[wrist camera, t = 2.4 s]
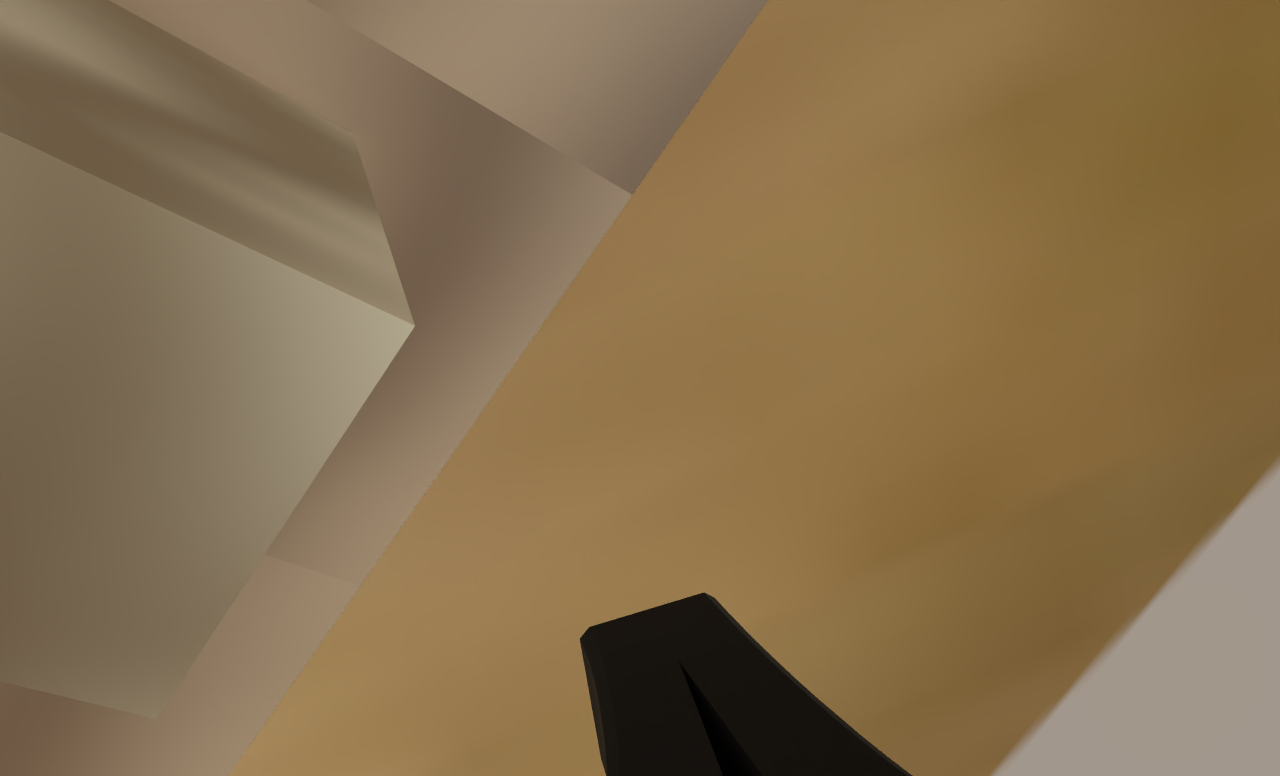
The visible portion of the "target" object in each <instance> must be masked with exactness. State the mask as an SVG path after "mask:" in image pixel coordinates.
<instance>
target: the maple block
mask: <svg viewBox="0 0 1280 776" xmlns="http://www.w3.org/2000/svg"><path fill="white" fill-rule="evenodd" d="M414 327H415V324H414V321H413V318H412V315H411V312H410V309H409V306H408V303H407V300H406V296H405V293H404V290H403V287H402V284H401V281H400V278H399V275H398V272H397V269H396V266H395V263H394V259H393V256H392V253H391V250H390V247H389V244H388V241H387V238H386V235H385V232H384V229H383V226H382V222H381V219H380V216H379V213H378V210H377V207H376V204H375V201H374V198H373V195H372V192H371V189H370V185H369V182H368V179H367V176H366V173H365V170H364V167H363V164H362V161H361V158H360V155H359V152H358V148H357V145H356V142H355V139H354V136H353V133H351V132H349V131H347V130H345V129H344V128H342V127H340V126H338V125H336V124H334V123H333V122H331V121H329V120H327V119H325V118H323V117H322V116H320V115H318V114H316V113H314V112H312V111H311V110H309V109H307V108H305V107H303V106H301V105H300V104H298V103H296V102H294V101H292V100H290V99H289V98H287V97H285V96H283V95H281V94H280V93H278V92H276V91H274V90H272V89H270V88H269V87H267V86H265V85H263V84H261V83H259V82H258V81H256V80H254V79H252V78H250V77H248V76H247V75H245V74H243V73H241V72H239V71H237V70H236V69H234V68H232V67H230V66H228V65H226V64H225V63H223V62H221V61H219V60H217V59H215V58H214V57H212V56H210V55H208V54H206V53H204V52H203V51H201V50H199V49H197V48H195V47H194V46H192V45H190V44H188V43H186V42H184V41H183V40H181V39H179V38H177V37H175V36H173V35H172V34H170V33H168V32H166V31H164V30H162V29H161V28H159V27H157V26H155V25H153V24H151V23H150V22H148V21H146V20H144V19H142V18H140V17H139V16H137V15H135V14H133V13H131V12H129V11H128V10H126V9H124V8H122V7H120V6H118V5H117V4H115V3H113V2H111V1H109V0H0V681H1V682H5V683H9V684H13V685H18V686H22V687H26V688H30V689H34V690H38V691H42V692H46V693H51V694H55V695H59V696H63V697H67V698H71V699H75V700H79V701H84V702H88V703H92V704H96V705H100V706H104V707H108V708H112V709H117V710H121V711H125V712H129V713H133V714H137V715H141V716H145V717H150V718H154V719H156V718H157V717H158V715H159V714H160V712H161V711H162V709H163V708H164V706H165V705H166V703H167V702H168V700H169V699H170V697H171V695H172V694H173V692H174V691H175V689H176V688H177V686H178V685H179V683H180V682H181V680H182V679H183V677H184V676H185V674H186V673H187V671H188V670H189V668H190V667H191V665H192V664H193V662H194V661H195V659H196V658H197V656H198V655H199V653H200V651H201V650H202V648H203V647H204V645H205V644H206V642H207V641H208V639H209V638H210V636H211V635H212V633H213V632H214V630H215V629H216V627H217V626H218V624H219V623H220V621H221V620H222V618H223V617H224V615H225V614H226V612H227V611H228V609H229V607H230V606H231V604H232V603H233V601H234V600H235V598H236V597H237V595H238V594H239V592H240V591H241V589H242V588H243V586H244V585H245V583H246V582H247V580H248V579H249V577H250V576H251V574H252V573H253V571H254V570H255V568H256V566H257V565H258V563H259V562H260V560H261V559H262V557H263V556H264V554H265V553H266V551H267V550H268V548H269V547H270V545H271V544H272V542H273V541H274V539H275V538H276V536H277V535H278V533H279V532H280V530H281V529H282V527H283V526H284V524H285V522H286V521H287V519H288V518H289V516H290V515H291V513H292V512H293V510H294V509H295V507H296V506H297V504H298V503H299V501H300V500H301V498H302V497H303V495H304V494H305V492H306V491H307V489H308V488H309V486H310V485H311V483H312V482H313V480H314V478H315V477H316V475H317V474H318V472H319V471H320V469H321V468H322V466H323V465H324V463H325V462H326V460H327V459H328V457H329V456H330V454H331V453H332V451H333V450H334V448H335V447H336V445H337V444H338V442H339V441H340V439H341V437H342V436H343V434H344V433H345V431H346V430H347V428H348V427H349V425H350V424H351V422H352V421H353V419H354V418H355V416H356V415H357V413H358V412H359V410H360V409H361V407H362V406H363V404H364V403H365V401H366V400H367V398H368V397H369V395H370V393H371V392H372V390H373V389H374V387H375V386H376V384H377V383H378V381H379V380H380V378H381V377H382V375H383V374H384V372H385V371H386V369H387V368H388V366H389V365H390V363H391V362H392V360H393V359H394V357H395V356H396V354H397V352H398V351H399V349H400V348H401V346H402V345H403V343H404V342H405V340H406V339H407V337H408V336H409V334H410V333H411V331H412V330H413V328H414Z"/></svg>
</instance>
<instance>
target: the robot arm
mask: <svg viewBox="0 0 1280 776" xmlns="http://www.w3.org/2000/svg"><path fill="white" fill-rule="evenodd" d="M580 643H581V648H582V654H583V660H584V665H585V671H586V676H587V682H588V688H589V693H590V699H591V704H592V710H593V716H594V721H595V727H596V732H597V738H598V744H599V749H600V755H601V760H602V763H603V766H604V769H605V773H606V776H912V775H911V774H909V773H908V772H907V771H905V770H904V769H903V768H901V767H900V766H899V765H898V764H896V763H895V762H894V761H892V760H891V759H890V758H888V757H887V756H886V755H885V754H883V753H882V752H881V751H880V750H878V749H877V748H876V747H875V746H873V745H872V744H871V743H870V742H868V741H867V740H866V739H865V738H863V737H862V736H861V735H860V734H859V733H858V732H856V731H855V730H854V729H853V728H852V727H851V726H849V725H848V724H847V723H846V722H845V721H843V720H842V719H841V718H840V717H839V716H838V715H836V714H835V713H834V712H833V711H832V710H831V709H829V708H828V707H827V706H826V705H825V704H823V703H822V702H821V701H820V700H819V699H818V698H816V697H815V696H814V695H813V694H812V693H811V692H810V691H809V690H808V689H806V688H805V687H804V686H803V685H802V684H801V683H800V682H799V681H798V680H796V679H795V678H794V677H793V676H792V675H791V674H790V673H789V672H788V671H787V670H786V669H785V668H784V667H783V666H781V665H780V664H779V663H778V662H777V661H776V660H775V659H774V658H773V657H772V656H771V655H770V654H769V653H768V652H767V651H766V650H765V649H764V648H763V647H762V646H761V645H760V644H759V643H758V642H756V641H755V640H754V639H753V638H752V637H751V636H750V635H749V634H748V633H747V632H746V631H745V629H744V628H743V627H742V626H741V625H740V624H739V623H738V622H737V621H736V620H735V619H734V618H733V617H732V616H731V615H730V614H729V613H728V612H727V611H726V610H725V609H724V608H723V606H722V605H721V604H720V603H719V602H718V601H717V600H716V599H715V598H714V597H712V596H710V595H708V594H706V593H701V594H697V595H694V596H691V597H688V598H684V599H681V600H678V601H674V602H671V603H668V604H664V605H661V606H658V607H654V608H651V609H648V610H644V611H641V612H638V613H635V614H631V615H628V616H625V617H621V618H618V619H615V620H611V621H608V622H605V623H601V624H598V625H595V626H591V627H589V628H588V629H587V631H586V632H585V633H584V634H583V635H582V637H581V638H580Z"/></svg>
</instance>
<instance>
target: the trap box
mask: <svg viewBox="0 0 1280 776" xmlns="http://www.w3.org/2000/svg"><path fill="white" fill-rule="evenodd" d="M109 1H111V2H113V3H115V4H117V5H118V6H120V7H122V8H124V9H126V10H128V11H129V12H131V13H133V14H135V15H137V16H139V17H140V18H142V19H144V20H146V21H148V22H150V23H151V24H153V25H155V26H157V27H159V28H161V29H162V30H164V31H166V32H168V33H170V34H172V35H173V36H175V37H177V38H179V39H181V40H183V41H184V42H186V43H188V44H190V45H192V46H194V47H195V48H197V49H199V50H201V51H203V52H204V53H206V54H208V55H210V56H212V57H214V58H215V59H217V60H219V61H221V62H223V63H225V64H226V65H228V66H230V67H232V68H234V69H236V70H237V71H239V72H241V73H243V74H245V75H247V76H248V77H250V78H252V79H254V80H256V81H258V82H259V83H261V84H263V85H265V86H267V87H269V88H270V89H272V90H274V91H276V92H278V93H280V94H281V95H283V96H285V97H287V98H289V99H290V100H292V101H294V102H296V103H298V104H300V105H301V106H303V107H305V108H307V109H309V110H311V111H312V112H314V113H316V114H318V115H320V116H322V117H323V118H325V119H327V120H329V121H331V122H333V123H334V124H336V125H338V126H340V127H342V128H344V129H345V130H347V131H349V132H351V133H353V136H354V139H355V142H356V145H357V148H358V152H359V155H360V158H361V161H362V164H363V167H364V170H365V173H366V176H367V179H368V182H369V185H370V189H371V192H372V195H373V198H374V201H375V204H376V207H377V210H378V213H379V216H380V219H381V222H382V226H383V229H384V232H385V235H386V238H387V241H388V244H389V247H390V250H391V253H392V256H393V259H394V263H395V266H396V269H397V272H398V275H399V278H400V281H401V284H402V287H403V290H404V293H405V296H406V300H407V303H408V306H409V309H410V312H411V315H412V318H413V321H414V324H415V327H414V328H413V330H412V331H411V333H410V334H409V336H408V337H407V339H406V340H405V342H404V343H403V345H402V346H401V348H400V349H399V351H398V352H397V354H396V356H395V357H394V359H393V360H392V362H391V363H390V365H389V366H388V368H387V369H386V371H385V372H384V374H383V375H382V377H381V378H380V380H379V381H378V383H377V384H376V386H375V387H374V389H373V390H372V392H371V393H370V395H369V397H368V398H367V400H366V401H365V403H364V404H363V406H362V407H361V409H360V410H359V412H358V413H357V415H356V416H355V418H354V419H353V421H352V422H351V424H350V425H349V427H348V428H347V430H346V431H345V433H344V434H343V436H342V437H341V439H340V441H339V442H338V444H337V445H336V447H335V448H334V450H333V451H332V453H331V454H330V456H329V457H328V459H327V460H326V462H325V463H324V465H323V466H322V468H321V469H320V471H319V472H318V474H317V475H316V477H315V478H314V480H313V482H312V483H311V485H310V486H309V488H308V489H307V491H306V492H305V494H304V495H303V497H302V498H301V500H300V501H299V503H298V504H297V506H296V507H295V509H294V510H293V512H292V513H291V515H290V516H289V518H288V519H287V521H286V522H285V524H284V526H283V527H282V529H281V530H280V532H279V533H278V535H277V536H276V538H275V539H274V541H273V542H272V544H271V545H270V547H269V548H268V550H267V551H266V553H265V554H264V556H263V557H262V559H261V560H260V562H259V563H258V565H257V566H256V568H255V570H254V571H253V573H252V574H251V576H250V577H249V579H248V580H247V582H246V583H245V585H244V586H243V588H242V589H241V591H240V592H239V594H238V595H237V597H236V598H235V600H234V601H233V603H232V604H231V606H230V607H229V609H228V611H227V612H226V614H225V615H224V617H223V618H222V620H221V621H220V623H219V624H218V626H217V627H216V629H215V630H214V632H213V633H212V635H211V636H210V638H209V639H208V641H207V642H206V644H205V645H204V647H203V648H202V650H201V651H200V653H199V655H198V656H197V658H196V659H195V661H194V662H193V664H192V665H191V667H190V668H189V670H188V671H187V673H186V674H185V676H184V677H183V679H182V680H181V682H180V683H179V685H178V686H177V688H176V689H175V691H174V692H173V694H172V695H171V697H170V699H169V700H168V702H167V703H166V705H165V706H164V708H163V709H162V711H161V712H160V714H159V715H158V717H157V718H156V719H154V718H150V717H145V716H141V715H137V714H133V713H129V712H125V711H121V710H117V709H112V708H108V707H104V706H100V705H96V704H92V703H88V702H84V701H79V700H75V699H71V698H67V697H63V696H59V695H55V694H51V693H46V692H42V691H38V690H34V689H30V688H26V687H22V686H18V685H13V684H9V683H5V682H1V681H0V776H229V774H230V773H231V772H232V770H233V769H234V767H235V766H236V764H237V763H238V762H239V760H240V759H241V757H242V756H243V754H244V753H245V751H246V750H247V749H248V747H249V746H250V744H251V743H252V741H253V740H254V738H255V737H256V736H257V734H258V733H259V731H260V730H261V728H262V727H263V726H264V724H265V723H266V721H267V720H268V718H269V717H270V715H271V714H272V713H273V711H274V710H275V708H276V707H277V705H278V704H279V703H280V701H281V700H282V698H283V697H284V695H285V694H286V692H287V691H288V690H289V688H290V687H291V685H292V684H293V682H294V681H295V680H296V678H297V677H298V675H299V674H300V672H301V671H302V669H303V668H304V667H305V665H306V664H307V662H308V661H309V659H310V658H311V656H312V655H313V654H314V652H315V651H316V649H317V648H318V646H319V645H320V644H321V642H322V641H323V639H324V638H325V636H326V635H327V633H328V632H329V631H330V629H331V628H332V626H333V625H334V623H335V622H336V621H337V619H338V618H339V616H340V615H341V613H342V612H343V610H344V609H345V608H346V606H347V605H348V603H349V602H350V600H351V599H352V598H353V596H354V595H355V593H356V592H357V590H358V589H359V587H360V586H361V585H362V583H363V582H364V580H365V579H366V577H367V576H368V574H369V573H370V572H371V570H372V569H373V567H374V566H375V564H376V563H377V562H378V560H379V559H380V557H381V556H382V554H383V553H384V551H385V550H386V549H387V547H388V546H389V544H390V543H391V541H392V540H393V539H394V537H395V536H396V534H397V533H398V531H399V530H400V528H401V527H402V526H403V524H404V523H405V521H406V520H407V518H408V517H409V515H410V514H411V513H412V511H413V510H414V508H415V507H416V505H417V504H418V503H419V501H420V500H421V498H422V497H423V495H424V494H425V492H426V491H427V490H428V488H429V487H430V485H431V484H432V482H433V481H434V480H435V478H436V477H437V475H438V474H439V472H440V471H441V469H442V468H443V467H444V465H445V464H446V462H447V461H448V459H449V458H450V457H451V455H452V454H453V452H454V451H455V449H456V448H457V446H458V445H459V444H460V442H461V441H462V439H463V438H464V436H465V435H466V433H467V432H468V431H469V429H470V428H471V426H472V425H473V423H474V422H475V421H476V419H477V418H478V416H479V415H480V413H481V412H482V410H483V409H484V408H485V406H486V405H487V403H488V402H489V400H490V399H491V398H492V396H493V395H494V393H495V392H496V390H497V389H498V387H499V386H500V385H501V383H502V382H503V380H504V379H505V377H506V376H507V375H508V373H509V372H510V370H511V369H512V367H513V366H514V364H515V363H516V362H517V360H518V359H519V357H520V356H521V354H522V353H523V351H524V350H525V349H526V347H527V346H528V344H529V343H530V341H531V340H532V339H533V337H534V336H535V334H536V333H537V331H538V330H539V328H540V327H541V326H542V324H543V323H544V321H545V320H546V318H547V317H548V316H549V314H550V313H551V311H552V310H553V308H554V307H555V305H556V304H557V303H558V301H559V300H560V298H561V297H562V295H563V294H564V293H565V291H566V290H567V288H568V287H569V285H570V284H571V282H572V281H573V280H574V278H575V277H576V275H577V274H578V272H579V271H580V269H581V268H582V267H583V265H584V264H585V262H586V261H587V259H588V258H589V257H590V255H591V254H592V252H593V251H594V249H595V248H596V246H597V245H598V244H599V242H600V241H601V239H602V238H603V236H604V235H605V234H606V232H607V231H608V229H609V228H610V226H611V225H612V223H613V222H614V221H615V219H616V218H617V216H618V215H619V213H620V212H621V210H622V209H623V208H624V206H625V205H626V203H627V202H628V200H629V199H630V198H631V196H632V195H633V193H634V192H635V190H636V189H637V187H638V186H639V185H640V183H641V182H642V180H643V179H644V177H645V176H646V175H647V173H648V172H649V170H650V169H651V167H652V166H653V164H654V163H655V162H656V160H657V159H658V157H659V156H660V154H661V153H662V152H663V150H664V149H665V147H666V146H667V144H668V143H669V141H670V140H671V139H672V137H673V136H674V134H675V133H676V131H677V130H678V128H679V127H680V126H681V124H682V123H683V121H684V120H685V118H686V117H687V116H688V114H689V113H690V111H691V110H692V108H693V107H694V105H695V104H696V103H697V101H698V100H699V98H700V97H701V95H702V94H703V93H704V91H705V90H706V88H707V87H708V85H709V84H710V82H711V81H712V80H713V78H714V77H715V75H716V74H717V72H718V71H719V70H720V68H721V67H722V65H723V64H724V62H725V61H726V59H727V58H728V57H729V55H730V54H731V52H732V51H733V49H734V48H735V46H736V45H737V44H738V42H739V41H740V39H741V38H742V36H743V35H744V34H745V32H746V31H747V29H748V28H749V26H750V25H751V23H752V22H753V21H754V19H755V18H756V16H757V15H758V13H759V12H760V11H761V9H762V8H763V6H764V5H765V3H766V2H767V0H109Z"/></svg>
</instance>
